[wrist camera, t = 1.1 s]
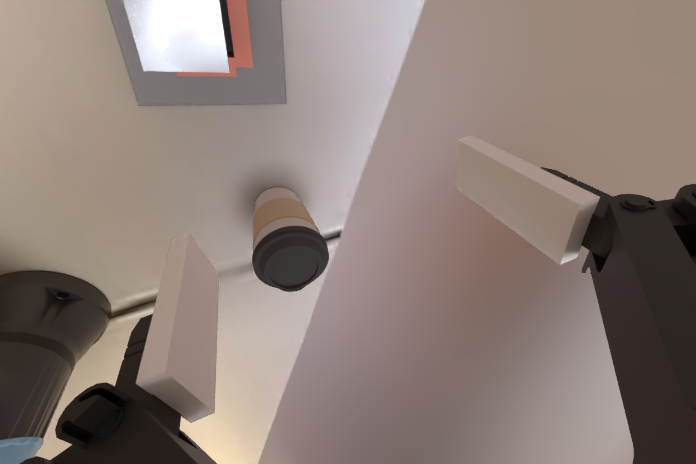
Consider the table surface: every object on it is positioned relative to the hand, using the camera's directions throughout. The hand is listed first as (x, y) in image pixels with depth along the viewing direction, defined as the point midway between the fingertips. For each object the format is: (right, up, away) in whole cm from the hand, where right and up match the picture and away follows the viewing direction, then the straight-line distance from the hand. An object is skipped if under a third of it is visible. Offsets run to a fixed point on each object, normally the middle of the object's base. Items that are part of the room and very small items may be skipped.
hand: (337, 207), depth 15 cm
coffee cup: (-10, +3, +32) cm, 34 cm away
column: (-14, +20, +16) cm, 29 cm away
